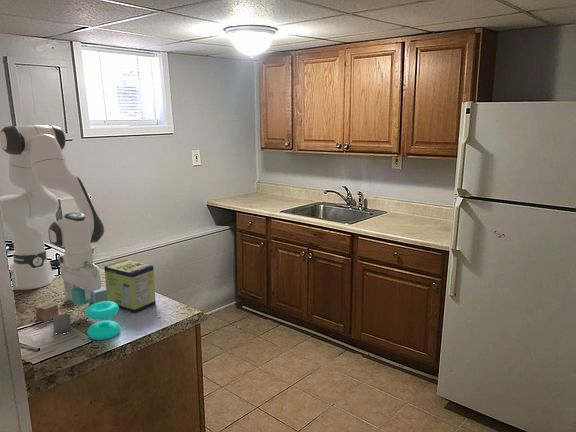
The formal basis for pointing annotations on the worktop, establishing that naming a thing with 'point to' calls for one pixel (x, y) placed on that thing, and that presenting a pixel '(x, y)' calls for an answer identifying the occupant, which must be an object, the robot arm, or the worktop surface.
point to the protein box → (130, 285)
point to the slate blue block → (99, 295)
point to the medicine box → (68, 290)
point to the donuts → (103, 327)
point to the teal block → (80, 296)
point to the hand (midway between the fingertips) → (82, 296)
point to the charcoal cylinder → (62, 323)
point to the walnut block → (46, 311)
